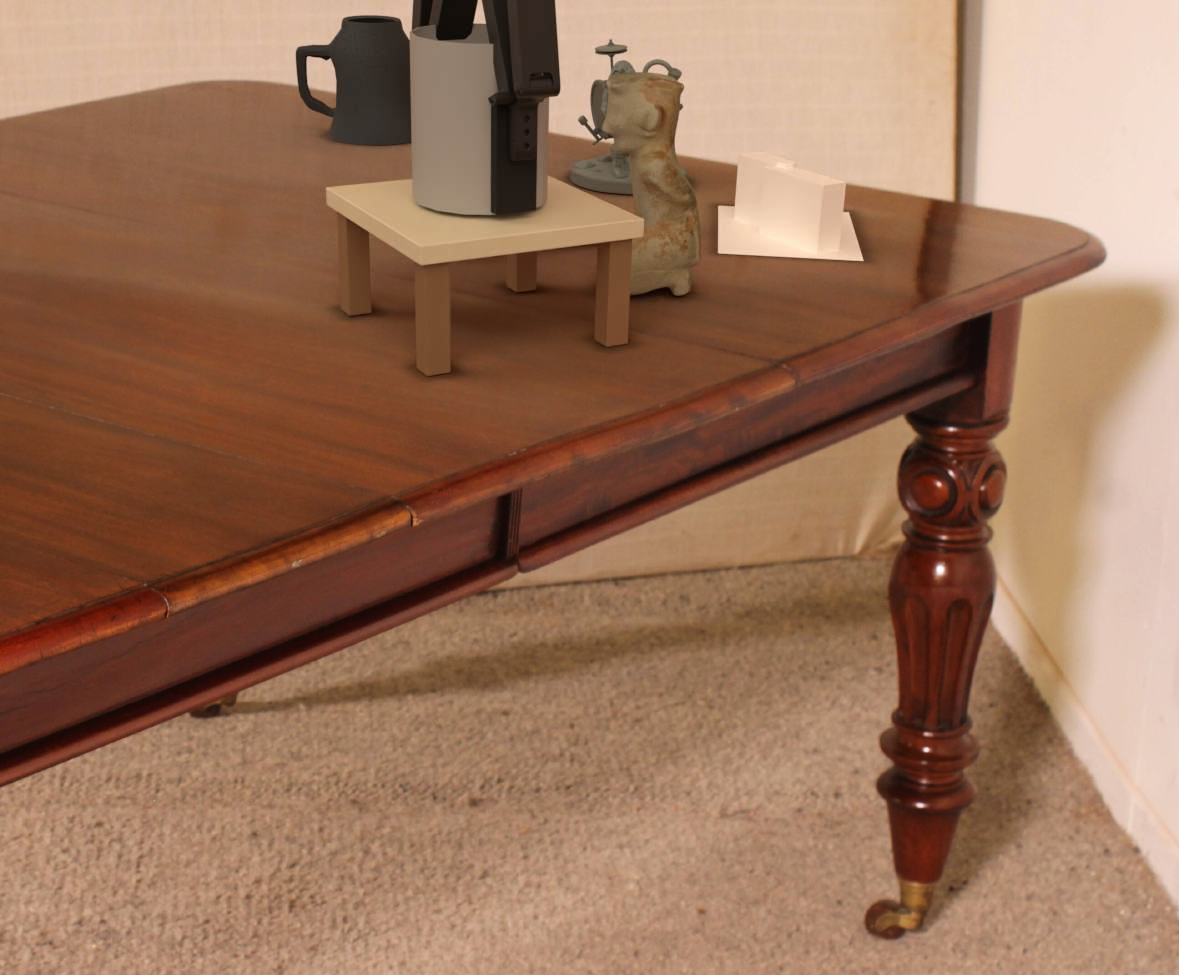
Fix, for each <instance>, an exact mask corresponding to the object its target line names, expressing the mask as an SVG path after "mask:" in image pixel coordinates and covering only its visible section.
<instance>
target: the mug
mask: <svg viewBox="0 0 1179 975" xmlns="http://www.w3.org/2000/svg"><path fill="white" fill-rule="evenodd" d="M340 26H341V27H340V28H339V31H338V32H337V33H336V34H335V36H334V37H333V38H332V40H331V41H330V42H329V43H328V44H309V45H300V46H298V47H297V48H296V50H295V67H296V79H297V88H298V93H299V96H300V99H301V100H302V102H303V103H304V104H305V106H306V107H307V108H308V109H309V110H311V111H313V112H316V113H320V114H322V115H324V116H326V117H329V118H331V119H332V120H331V125H330V129H329V138H331V139H333V141H337V142H341V143H345V144H352V145H359V146H360V145H361V146H363V145H364V146H389V145H400V144H405V143H406V144H407V143H412V137H411V83H410V37H408V35H407V34H406V32H405V30H404V28H403V23H402V20H401V19H400V18H399V17H396V16H390V15H378V14H377V15H376V14H375V15H373V14H370V15H368V14H367V15H366V14H364V15H363V14H362V15H361V14H360V15H350V16H346V17H343V18H342V20H341V24H340ZM308 57H311V58H316V59H317V58H318V59H322V60H323V61H328V60H330V61H331V64H332V65H333V68H334V73H335V74H334V75H335V81H336V82H335V84H336V85H335V87H336V88H335V107H334V108H332V107H330V106H328V105H327V104H326V103H325V102H323V101H321V100H320V99H317V98H316V97H314V96H312V92H311V90H310V88H309V83H308V70H307V69H308V68H307V66H308V65H307V64H308V63H307V60H308Z"/></svg>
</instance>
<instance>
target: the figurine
mask: <svg viewBox="0 0 1179 975" xmlns="http://www.w3.org/2000/svg"><path fill="white" fill-rule="evenodd" d="M608 40H609V42H607V44H604V45H599V46H596V47H595V48H594V53H595V54H596V55H600V56H608V57H609V58H610V59H609V60H610V74H609V76H608V78H609V77H610V76H612V75H615V74H619V73H634V72H636V69H635V68H634V67H633V64H631V62H630V61H628V60H625V59H622V60H618V61H617V62H615V63H614V58H615V56H616V55H621V54H625V53H627V52H628V46H627V45H625V44H615V43H614V42H613V39H612V38H610V39H609V38H608ZM656 65H659V66H662V67H664V68H665V69H666V71H668V72H667V74H666V75H667V76H671V77H673V78H675V79H676V80H677V81H679V79H680V78H681V77H682V75H683V72H682V71H681V70H680V69H679V68H677V67H672V65H671V64H670V63H669V62H668V61H666V60H663V59H661V58H655V59H652V60H650V61H648V62H647V63H646V64H645V65H644V66H643V69H642V72H646V73H649V70H650V68H652V67H654V66H656ZM608 78H607V79H603V80H602V79H595V80H594V81H593V82H592V84H591V88H590V95H589V96H590V97H589V99H590V112H591V118H592V122H593V126H594V128H592V127H591V126H590V125H589V123H588V122H589V120H588V118H586V116H585V115H581V116H579V117H578V118H577V121H578V123H579V124H580V125H581V126H584V127H585V128H586V129H587V130H588V132H589V133H590V134H591V135H592V136H593V138H594V139H595V141H594V142H592V145H593V146H595V145H596V144H598V143H599V142H600V141H602V140H605V141H607V140H609V139H613V136H612V135H610V134H608V133H605V132H604V131H603V130H602V126H603V123H604V120H605V117H606V114H607V106H608V95H609V90H608V87H607V80H608ZM683 109H684V105H683V103H680V111H682V110H683ZM609 149H610V152H611V155H609V154H603V155H601V156H599V157H591V158H585V159H580V160H578V161H576V162H574V163H572V164H571V165H570V167H569V180H570V182H571V183H572V184H574V185H576V186H578V187H580V188H583V189H587V190H589V191H590V190H591V191H593V192H601V193H607V194H619V195H633V191H632V183H631V175H630V165H629V154H628V153H620V152H617V151H616V150H615V147H614V143H612V144H611V145H610V148H609ZM679 167H680V169H681V171H682V172H683V174H684V175H685V177H686V178H687V179H688V170H687V168H685V167H684V166H682V165H680V164H679Z"/></svg>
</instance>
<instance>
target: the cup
mask: <svg viewBox="0 0 1179 975" xmlns="http://www.w3.org/2000/svg"><path fill="white" fill-rule="evenodd" d="M409 40H410V83H411V137H412V141H411V179H412V192H413V198H414V199H415V201H416V202H417V203H418V204H419V205H422V206H425V207H428V208H431V209H433V210H436V211H443V212H450V213H457V214H465V215H496V214H494V213H492V212H491V105H490V103H489V101H488V98H489V97H490V96H492V95H493V94H496V93H498V87H497V81H496V76H495V70H494V65H493V44H490V43H489V37H488V32H487V26H486V23H473V28H472V33H471V34H470V35H469V36H468V37H467V38H466V39H464V40H444V41H439V40H438V39H437V38H436V25H431V26H424V27H418V28H416V29H414V30H412V29H411V30H410V31H409ZM542 76H543V73H542ZM549 127H550V97H548V98H545V99H544V101H543V102H540V103H539V105H538V128H537V194H536V208H537V207H540V206H542V205H543V204H544V202H545V201H546V200H547V184H548V176H549V175H548V174H549V134H550V133H549V132H550V131H549V130H550V128H549ZM517 213H518V212H517Z"/></svg>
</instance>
